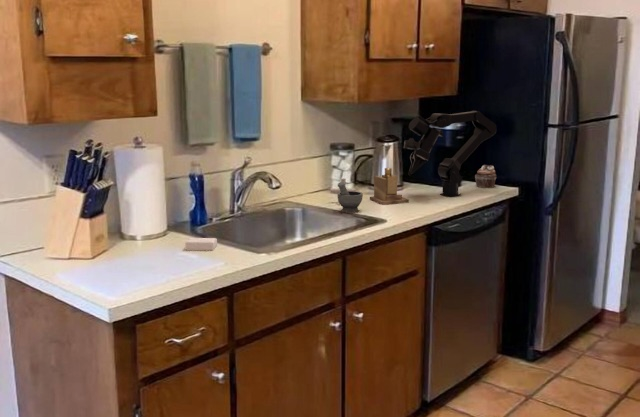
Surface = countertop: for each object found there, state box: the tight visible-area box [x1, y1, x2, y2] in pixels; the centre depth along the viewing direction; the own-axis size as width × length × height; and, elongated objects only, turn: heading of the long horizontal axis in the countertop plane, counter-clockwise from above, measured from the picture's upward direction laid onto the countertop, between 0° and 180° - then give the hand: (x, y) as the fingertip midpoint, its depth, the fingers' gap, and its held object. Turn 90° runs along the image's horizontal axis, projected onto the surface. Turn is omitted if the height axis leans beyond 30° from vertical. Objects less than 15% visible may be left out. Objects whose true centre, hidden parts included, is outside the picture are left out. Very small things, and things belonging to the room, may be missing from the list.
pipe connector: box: [330, 177, 357, 194], centre depth 274 cm, size 10×10×10 cm
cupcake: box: [474, 164, 497, 189], centre depth 307 cm, size 10×10×10 cm
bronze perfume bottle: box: [381, 167, 398, 196], centre depth 276 cm, size 4×6×12 cm
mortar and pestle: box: [337, 181, 364, 214], centre depth 258 cm, size 11×9×12 cm
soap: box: [184, 237, 218, 251], centre depth 209 cm, size 9×6×3 cm, turn 85°
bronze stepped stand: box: [369, 175, 410, 206], centre depth 276 cm, size 12×12×10 cm
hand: (410, 174), depth 278 cm, fingers open, 9 cm apart
